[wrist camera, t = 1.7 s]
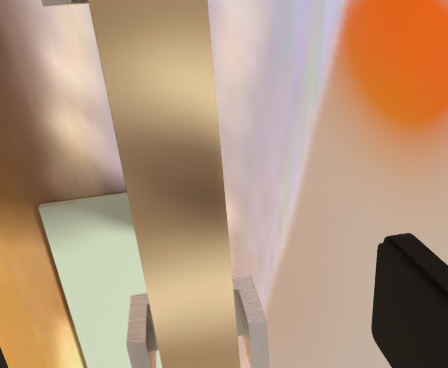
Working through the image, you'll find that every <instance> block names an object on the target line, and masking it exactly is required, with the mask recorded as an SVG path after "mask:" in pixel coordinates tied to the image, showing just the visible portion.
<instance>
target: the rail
mask: <svg viewBox="0 0 448 368" xmlns="http://www.w3.org/2000/svg"><path fill="white" fill-rule="evenodd" d="M88 1H89V6H90V11H91V16H92V21H93V26H94V31H95V36H96V41H97V46H98V51H99V56H100V61H101V66H102V71H103V76H104V81H105V86H106V91H107V96H108V101H109V106H110V111H111V116H112V121H113V126H114V131H115V136H116V141H117V146H118V150H119V155H120V160H121V165H122V170H123V175H124V180H125V185H126V190H127V195H128V200H129V205H130V210H131V215H132V220H133V225H134V230H135V235H136V240H137V245H138V250H139V255H140V260H141V265H142V270H143V275H144V280H145V285H146V290H147V295H148V300H149V304H150V309H151V314H152V319H153V324H154V329H155V334H156V339H157V344H158V349H159V354H160V359H161V364H162V368H240V359H239V347H238V336H237V325H236V314H235V303H234V292H233V281H232V269H231V258H230V247H229V236H228V225H227V214H226V203H225V192H224V180H223V169H222V158H221V147H220V136H219V125H218V114H217V103H216V91H215V80H214V69H213V58H212V47H211V36H210V25H209V13H208V2H207V0H88Z"/></svg>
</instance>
